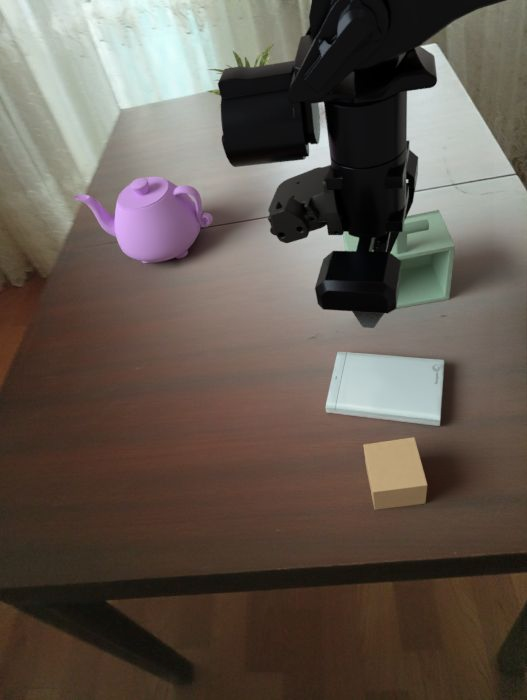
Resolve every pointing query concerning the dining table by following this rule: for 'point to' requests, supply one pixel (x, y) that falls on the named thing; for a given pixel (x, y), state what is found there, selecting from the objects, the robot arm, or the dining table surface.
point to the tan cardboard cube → (395, 473)
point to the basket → (421, 259)
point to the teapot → (153, 219)
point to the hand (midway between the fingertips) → (375, 291)
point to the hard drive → (387, 387)
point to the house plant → (245, 65)
